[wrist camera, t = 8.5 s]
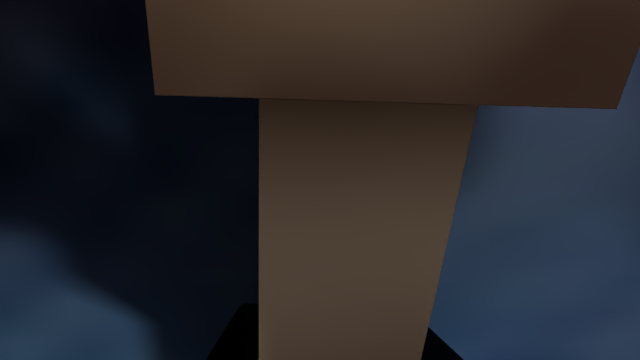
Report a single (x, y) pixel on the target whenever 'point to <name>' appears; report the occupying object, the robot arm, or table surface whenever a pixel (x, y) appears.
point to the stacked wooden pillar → (376, 137)
